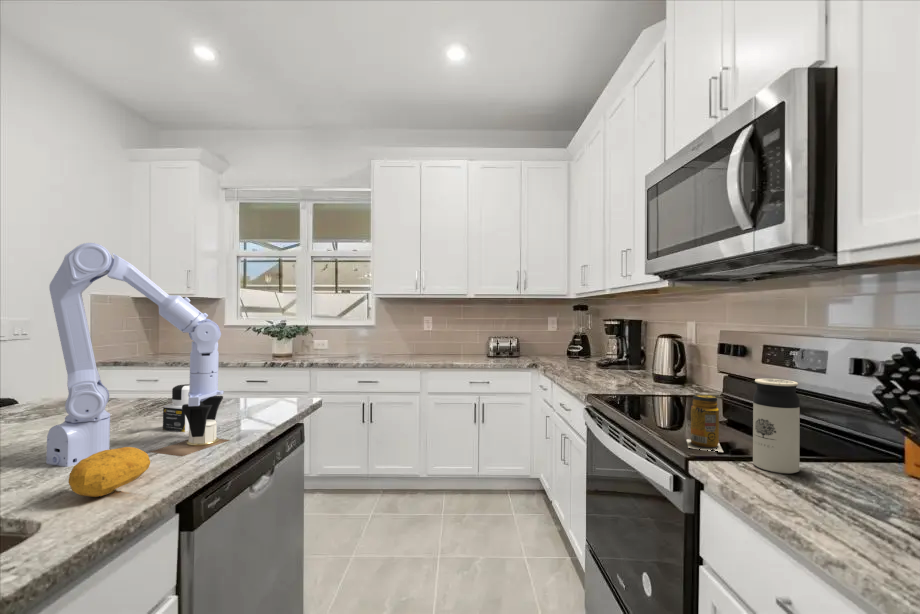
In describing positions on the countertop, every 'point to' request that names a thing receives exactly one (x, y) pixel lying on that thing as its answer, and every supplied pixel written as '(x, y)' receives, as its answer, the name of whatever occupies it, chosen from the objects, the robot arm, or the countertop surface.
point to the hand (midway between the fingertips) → (203, 432)
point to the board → (184, 448)
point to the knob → (202, 443)
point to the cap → (205, 433)
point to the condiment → (704, 423)
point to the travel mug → (776, 426)
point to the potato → (107, 471)
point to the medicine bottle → (176, 410)
